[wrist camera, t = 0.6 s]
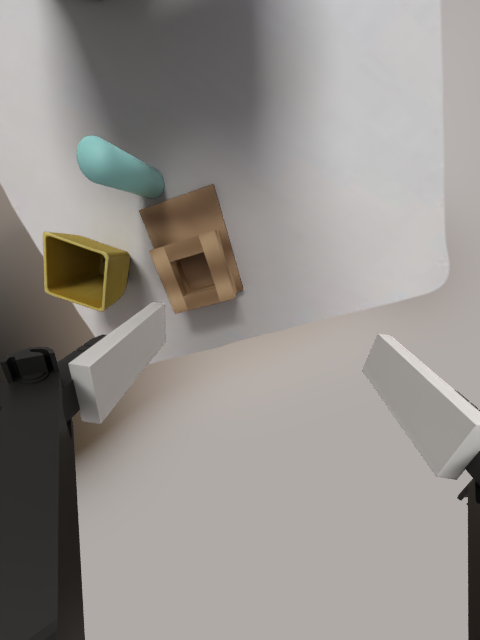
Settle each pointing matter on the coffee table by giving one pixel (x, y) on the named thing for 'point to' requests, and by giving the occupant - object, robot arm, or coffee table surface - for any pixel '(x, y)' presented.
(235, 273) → the socket board
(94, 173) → the peg
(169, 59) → the coffee table surface
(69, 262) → the flower pot
